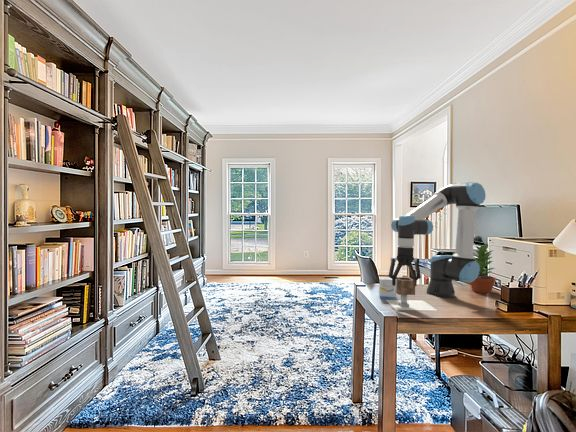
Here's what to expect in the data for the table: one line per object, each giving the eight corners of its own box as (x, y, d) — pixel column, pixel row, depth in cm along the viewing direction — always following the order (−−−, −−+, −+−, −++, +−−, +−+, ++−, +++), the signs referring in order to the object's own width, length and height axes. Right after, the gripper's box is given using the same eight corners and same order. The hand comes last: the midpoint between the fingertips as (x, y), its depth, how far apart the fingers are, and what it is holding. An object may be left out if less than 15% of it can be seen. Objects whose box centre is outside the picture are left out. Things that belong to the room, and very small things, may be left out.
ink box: (396, 302, 187) (397, 280, 186) (379, 300, 188) (380, 279, 188) (394, 298, 195) (395, 277, 195) (379, 296, 197) (379, 276, 196)
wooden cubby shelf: (409, 291, 179) (409, 276, 179) (414, 294, 171) (415, 279, 171) (393, 290, 179) (393, 275, 179) (398, 294, 171) (399, 278, 171)
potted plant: (479, 287, 227) (480, 241, 226) (500, 293, 212) (502, 243, 212) (461, 289, 221) (463, 241, 221) (482, 294, 207) (484, 244, 206)
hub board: (422, 302, 186) (423, 287, 186) (437, 312, 168) (438, 296, 168) (385, 302, 186) (385, 286, 186) (396, 312, 168) (396, 295, 168)
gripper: (423, 246, 178) (421, 291, 179) (382, 245, 178) (380, 290, 178) (429, 248, 171) (427, 294, 171) (386, 247, 170) (385, 293, 171)
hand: (403, 292), depth 175 cm, fingers closed on wooden cubby shelf, 8 cm apart
